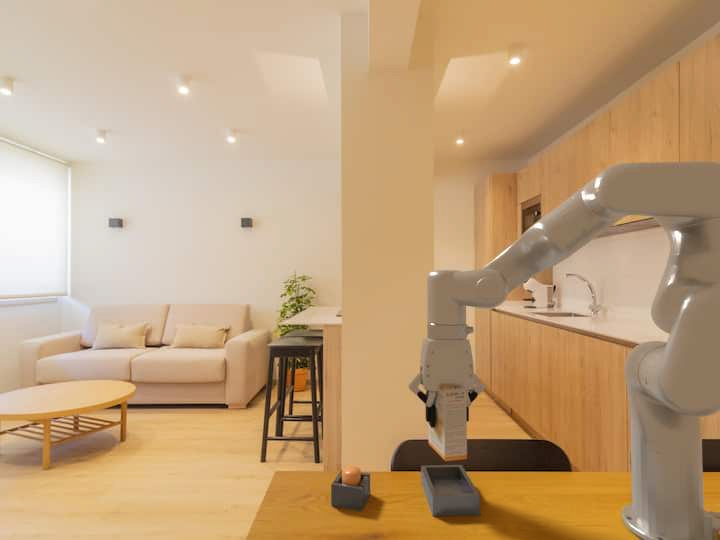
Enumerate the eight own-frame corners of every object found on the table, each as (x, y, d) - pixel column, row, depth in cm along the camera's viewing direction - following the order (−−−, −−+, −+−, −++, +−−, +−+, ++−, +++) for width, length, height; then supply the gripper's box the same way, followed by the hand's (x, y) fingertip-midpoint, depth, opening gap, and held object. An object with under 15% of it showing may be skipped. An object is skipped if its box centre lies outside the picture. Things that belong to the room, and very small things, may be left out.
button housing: (370, 493, 77) (370, 473, 77) (361, 511, 71) (361, 489, 71) (341, 489, 79) (341, 469, 79) (331, 505, 73) (331, 484, 73)
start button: (362, 488, 76) (362, 467, 76) (357, 498, 73) (357, 476, 73) (345, 485, 77) (345, 465, 77) (339, 495, 74) (339, 474, 74)
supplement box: (468, 459, 72) (468, 389, 73) (444, 462, 71) (444, 390, 72) (449, 441, 80) (448, 378, 81) (427, 443, 79) (427, 379, 80)
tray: (461, 481, 81) (461, 464, 81) (480, 515, 70) (479, 495, 70) (421, 482, 81) (421, 465, 81) (432, 516, 69) (432, 496, 70)
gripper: (483, 330, 80) (483, 418, 80) (400, 330, 80) (401, 418, 79) (496, 335, 73) (497, 432, 72) (406, 335, 72) (406, 433, 72)
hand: (447, 424), depth 76 cm, fingers closed on supplement box, 5 cm apart
